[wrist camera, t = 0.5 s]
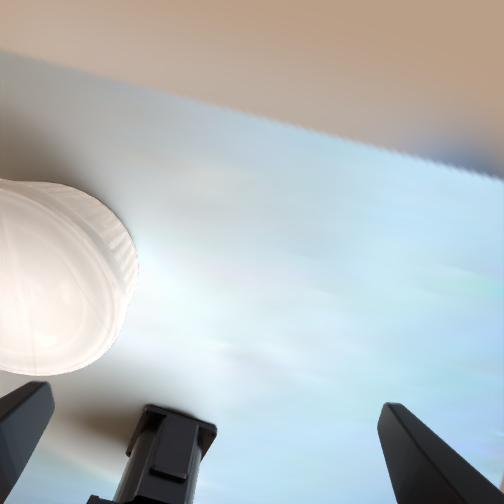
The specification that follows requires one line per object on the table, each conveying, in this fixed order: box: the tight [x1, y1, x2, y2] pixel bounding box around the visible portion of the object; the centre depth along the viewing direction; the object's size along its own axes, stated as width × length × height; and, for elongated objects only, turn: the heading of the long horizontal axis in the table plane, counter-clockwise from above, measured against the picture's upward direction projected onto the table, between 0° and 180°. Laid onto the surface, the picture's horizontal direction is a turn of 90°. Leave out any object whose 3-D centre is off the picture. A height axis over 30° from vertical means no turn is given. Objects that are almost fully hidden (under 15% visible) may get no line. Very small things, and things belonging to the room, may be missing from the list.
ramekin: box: [0, 178, 139, 376], centre depth 17 cm, size 11×11×5 cm
